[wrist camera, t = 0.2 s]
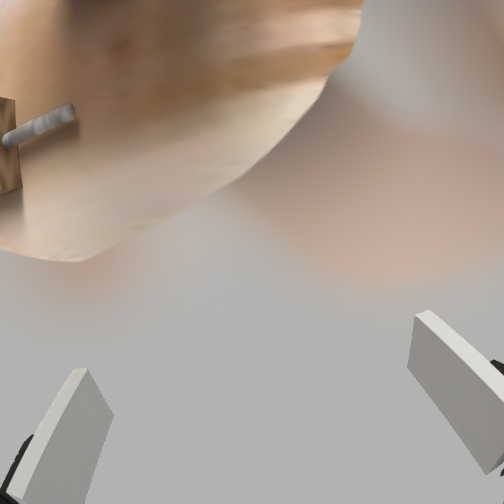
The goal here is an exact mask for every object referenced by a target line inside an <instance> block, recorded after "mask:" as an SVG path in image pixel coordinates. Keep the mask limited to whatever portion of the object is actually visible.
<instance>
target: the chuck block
mask: <svg viewBox="0 0 504 504" xmlns="http://www.w3.org/2000/svg"><path fill="white" fill-rule="evenodd" d="M74 119H75V109H74V106H73V105H72V104H71V103H68V104H66V105H63V106H61V107H59V108H56V109H54V110H52V111H50V112H48V113H45V114H43V115H41V116H39V117H37V118H35V119H33V120H31V121H29V122H27V123H25V124H23V125H21V126H19V127H18V128H16V120H15V100H12V99H7V98H2V97H0V197H1V196H3V195H5V194H7V193H9V192H12V191H14V190H16V189H19V188H21V187H23V186H22V180H21V173H20V166H19V157H18V148H17V145H19V144H21V143H23V142H25V141H27V140H29V139H31V138H33V137H35V136H37V135H39V134H42V133H44V132H46V131H48V130H50V129H53V128H55V127H57V126H60V125H62V124H65V123H67V122H70V121H72V120H74Z"/></svg>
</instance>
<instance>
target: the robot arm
mask: <svg viewBox="0 0 504 504" xmlns="http://www.w3.org/2000/svg"><path fill="white" fill-rule="evenodd" d="M407 368H408V369H409V370H410V372H411V373H412V374H413V376H414V377H415V378H416V379H417V381H418V382H419V383H420V385H421V386H422V387H423V388H424V390H425V391H426V392H427V394H428V395H429V396H430V398H431V399H432V400H433V401H434V403H435V404H436V406H437V407H438V408H439V410H440V411H441V412H442V414H443V415H444V416H445V418H446V419H447V420H448V422H449V423H450V425H451V426H452V427H453V428H454V430H455V431H456V433H457V434H458V435H459V437H460V438H461V440H462V441H463V443H464V444H465V445H466V447H467V448H468V450H469V451H470V453H471V454H472V455H473V457H474V458H475V460H476V461H477V463H478V464H479V465H480V467H481V469H482V470H483V472H484V473H485V474H486V475H487V474H488V473H490V472H491V471H493V470H494V469H495V468H497V467H498V466H499V465H501V464H502V463H503V461H504V364H503V363H501V362H498V361H496V360H492V361H490V362H489V361H487V360H486V359H485V358H484V357H483V356H482V355H481V354H480V353H479V352H478V351H476V350H475V349H474V348H473V347H472V346H471V345H470V344H469V343H468V342H466V341H465V340H464V339H463V338H462V337H461V336H460V335H458V334H457V333H456V332H455V331H454V330H453V329H451V328H450V327H449V326H448V325H447V324H446V323H444V322H443V321H442V320H441V319H440V318H439V317H437V316H436V315H435V314H434V313H433V312H431V311H430V310H428V311H425V312H422V313H419V314H416V315H415V319H414V327H413V334H412V342H411V348H410V354H409V360H408V366H407ZM113 417H114V414H113V413H112V411H111V410H110V408H109V406H108V404H107V403H106V401H105V399H104V398H103V396H102V394H101V393H100V391H99V389H98V387H97V385H96V383H95V381H94V380H93V378H92V376H91V374H90V372H89V370H88V369H73V370H72V372H71V374H70V376H69V377H68V379H67V380H66V382H65V383H64V385H63V386H62V388H61V390H60V391H59V393H58V395H57V396H56V398H55V400H54V401H53V403H52V405H51V406H50V408H49V410H48V412H47V413H46V415H45V417H44V419H43V420H42V422H41V424H40V426H39V427H38V429H37V431H36V433H35V435H31V436H30V437H29V438H28V439H27V440H26V441H25V442H24V443H23V445H22V447H21V449H20V450H19V452H18V453H19V454H18V455H17V456H16V458H15V462H13V464H12V466H11V468H10V470H9V472H8V474H7V476H6V478H5V480H4V482H3V484H2V487H1V488H0V504H84V503H85V499H86V496H87V493H88V490H89V486H90V483H91V480H92V477H93V474H94V471H95V467H96V465H97V461H98V459H99V455H100V453H101V450H102V447H103V444H104V441H105V439H106V436H107V433H108V430H109V427H110V425H111V422H112V419H113ZM503 475H504V469H503V470H502V472H501V475H500V476H503Z"/></svg>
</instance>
